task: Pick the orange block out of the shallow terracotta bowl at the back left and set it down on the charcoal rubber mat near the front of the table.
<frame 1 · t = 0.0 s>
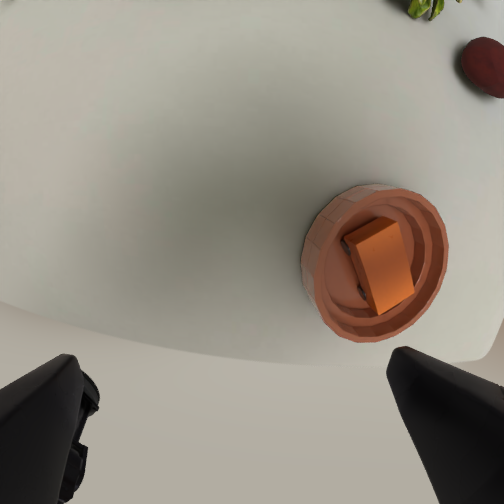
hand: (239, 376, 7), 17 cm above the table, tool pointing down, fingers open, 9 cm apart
bowl: (367, 255, 25), on the table
orange block: (370, 258, 24), point 1 cm above the table, touching bowl
potato: (474, 70, 20), on the table
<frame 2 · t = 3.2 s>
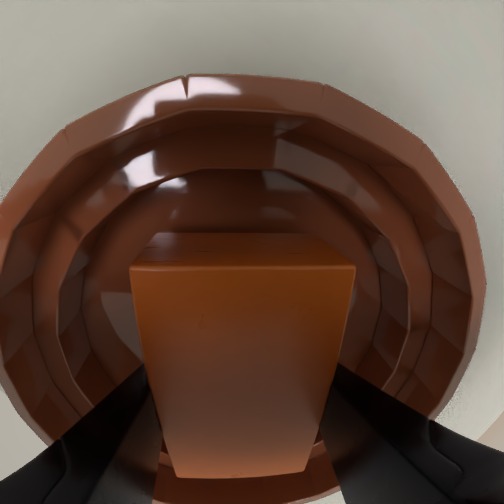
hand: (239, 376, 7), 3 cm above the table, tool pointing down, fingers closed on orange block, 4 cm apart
bowl: (233, 324, 10), on the table
orange block: (234, 334, 9), point 1 cm above the table, touching bowl, gripper
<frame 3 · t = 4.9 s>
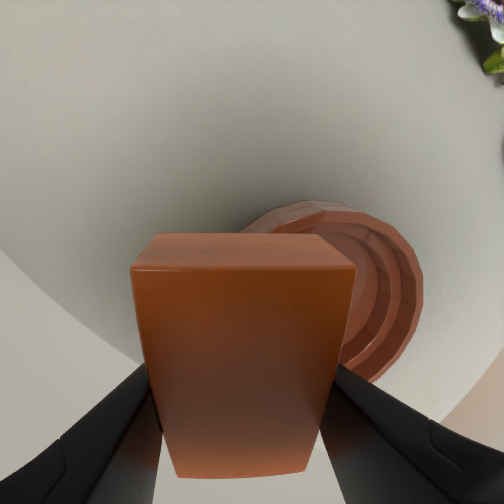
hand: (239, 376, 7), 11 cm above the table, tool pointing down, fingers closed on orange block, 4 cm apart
bowl: (308, 296, 19), on the table
orange block: (234, 335, 9), point 9 cm above the table, touching gripper
passion flower: (479, 26, 14), on the table
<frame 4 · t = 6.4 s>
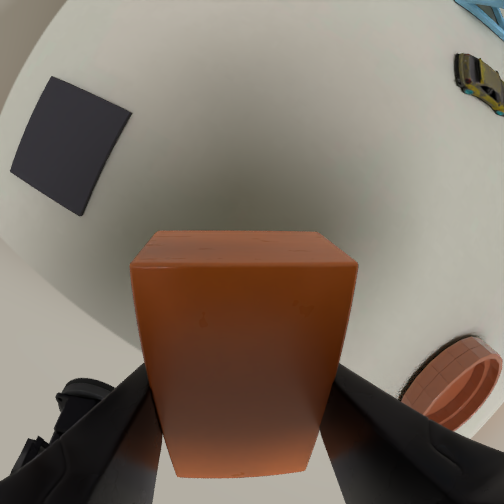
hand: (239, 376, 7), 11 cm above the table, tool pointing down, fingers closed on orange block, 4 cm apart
mat: (63, 142, 14), on the table
bowl: (442, 382, 25), on the table
orange block: (234, 333, 9), point 9 cm above the table, touching gripper
race car: (480, 87, 16), on the table
chair: (473, 1, 13), on the table
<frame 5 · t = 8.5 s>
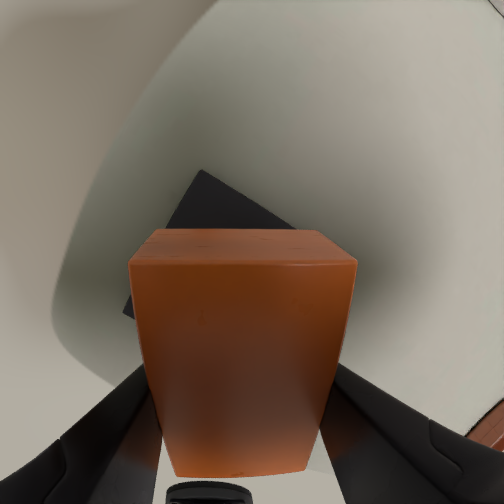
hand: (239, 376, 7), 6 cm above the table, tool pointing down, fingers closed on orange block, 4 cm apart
mat: (229, 285, 12), on the table
bowl: (486, 428, 23), on the table
orange block: (234, 332, 9), point 4 cm above the table, touching gripper
when the fingers open (2 cm above the table, at t = 9.8 s): orange block stays where it is, resting on mat.
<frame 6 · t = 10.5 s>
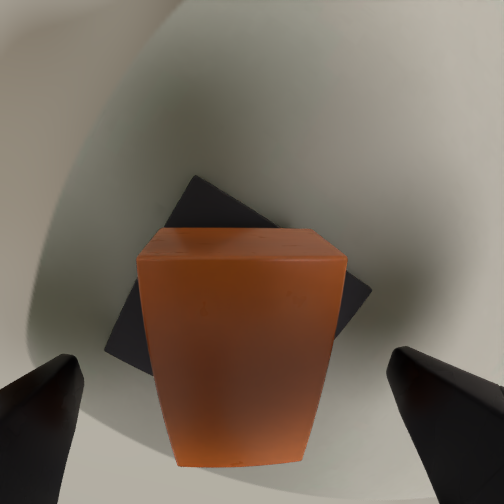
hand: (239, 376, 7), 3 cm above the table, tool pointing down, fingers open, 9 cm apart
mat: (233, 321, 10), on the table
orange block: (233, 326, 9), resting on mat
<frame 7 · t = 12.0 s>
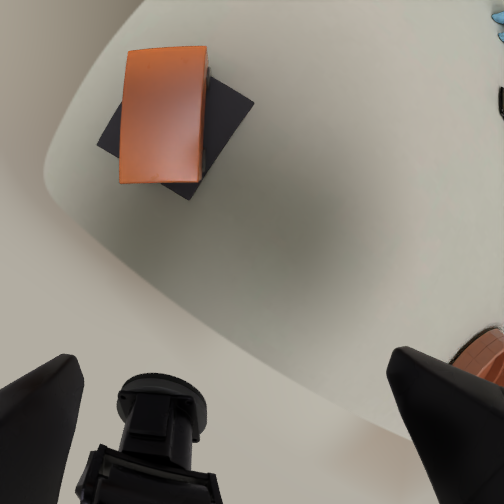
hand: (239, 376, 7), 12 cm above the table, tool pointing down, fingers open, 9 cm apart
mat: (172, 121, 16), on the table
bowl: (469, 370, 27), on the table
orange block: (171, 120, 15), resting on mat
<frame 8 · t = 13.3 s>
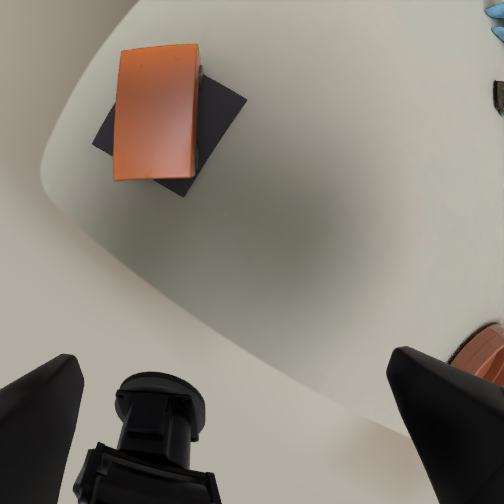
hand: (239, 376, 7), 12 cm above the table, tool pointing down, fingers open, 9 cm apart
mat: (166, 119, 16), on the table
bowl: (470, 366, 26), on the table
orange block: (164, 118, 15), resting on mat
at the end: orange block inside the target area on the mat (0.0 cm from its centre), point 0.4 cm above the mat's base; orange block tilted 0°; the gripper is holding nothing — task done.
